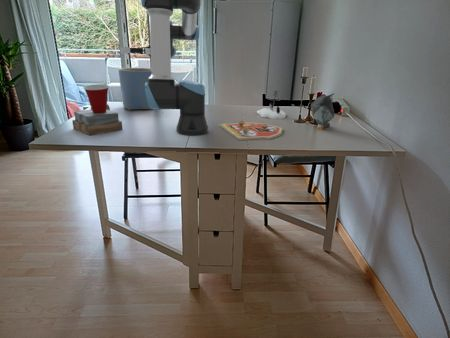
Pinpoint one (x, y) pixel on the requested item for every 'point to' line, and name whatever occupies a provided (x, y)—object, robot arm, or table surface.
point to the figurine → (272, 110)
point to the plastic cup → (97, 97)
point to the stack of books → (96, 122)
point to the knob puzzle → (251, 130)
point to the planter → (134, 87)
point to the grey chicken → (322, 111)
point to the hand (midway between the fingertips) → (133, 50)
